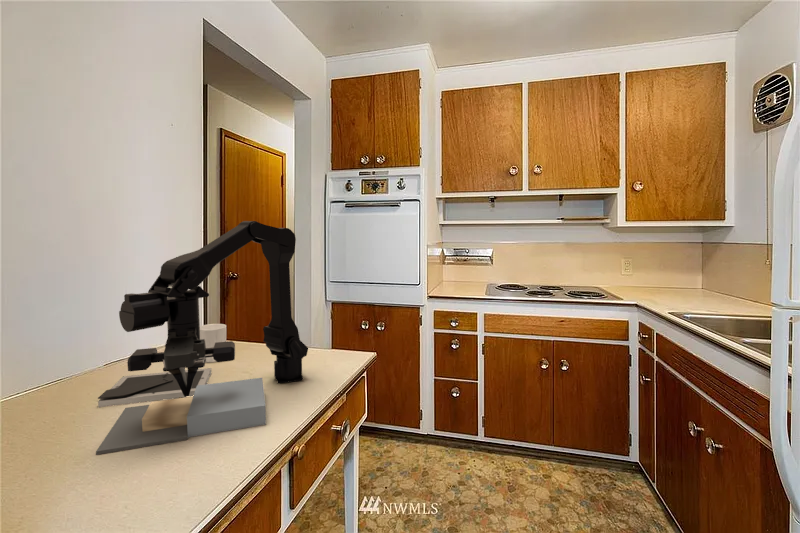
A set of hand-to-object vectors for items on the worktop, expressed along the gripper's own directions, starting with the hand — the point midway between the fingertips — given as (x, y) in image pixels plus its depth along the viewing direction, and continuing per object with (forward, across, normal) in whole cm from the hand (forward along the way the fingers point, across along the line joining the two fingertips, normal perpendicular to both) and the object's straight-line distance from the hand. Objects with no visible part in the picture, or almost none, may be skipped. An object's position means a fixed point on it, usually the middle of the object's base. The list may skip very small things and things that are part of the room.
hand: (186, 395), depth 80 cm
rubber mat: (+5, -6, 0) cm, 8 cm away
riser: (+5, +8, 0) cm, 9 cm away
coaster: (+4, -3, 0) cm, 5 cm away
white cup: (+5, +2, +40) cm, 40 cm away
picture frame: (+6, -8, +20) cm, 23 cm away
